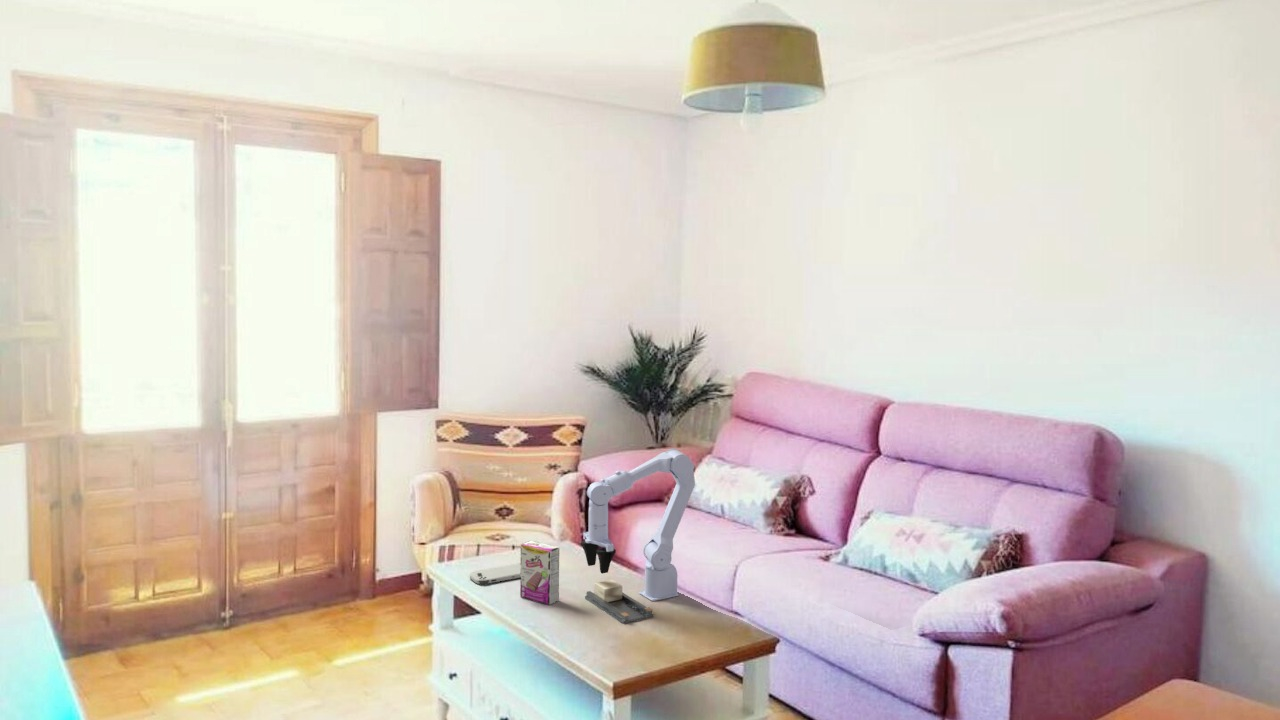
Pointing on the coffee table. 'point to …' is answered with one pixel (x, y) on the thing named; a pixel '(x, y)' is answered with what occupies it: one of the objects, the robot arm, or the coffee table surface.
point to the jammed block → (608, 590)
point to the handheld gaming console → (496, 574)
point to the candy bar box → (539, 572)
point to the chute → (621, 608)
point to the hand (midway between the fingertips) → (597, 568)
